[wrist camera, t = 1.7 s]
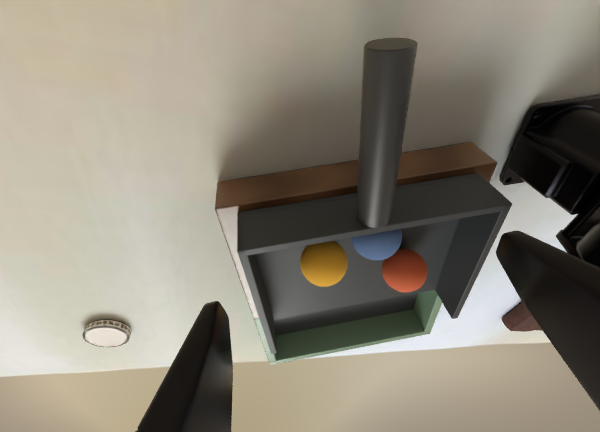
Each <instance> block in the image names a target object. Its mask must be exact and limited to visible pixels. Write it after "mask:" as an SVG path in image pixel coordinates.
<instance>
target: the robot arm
mask: <svg viewBox="0 0 600 432" xmlns="http://www.w3.org/2000/svg"><path fill="white" fill-rule="evenodd" d="M536 112H537V113H536ZM500 182H501V183H503V184H504V185H509V184H515V183H521V182H526V183H527V184H529V185H530V186H531V187H532V188H534V189H535V190H536V191H538V192H539V193H540V194H541V195H543V196H544V197H546V198H548V197H549V198H550V199H552V200H553V201H554V202H555V203H557V204H558V205H559V206H561V207H562V208H563V209H565V210H566V211H567V212H569V213H570V214H571V215H574V214H578V215H577V216H576V217H575V218H574V219H573V220H572V221H571V222H570V223H569V224H568V225H567V226H566V227H565V229H564V230H561V231H560V232H559V233H558V234H557V235H556V237H557V239H558V240H559V242H560V243H561V244H562V246H563V247H564V248H565V250H566V251H567V253H566V252H564V251H562V250H560V249H558V248H555V247H553V246H551V245H549V244H547V243H544V242H542V241H540V240H538V239H536V238H534V237H531V236H529V235H527V234H525V233H523V232H520V231H512V232H508V233H504V234H503V235H502V237H501V239H500V242H499V245H498V247H497V250H496V254H497V257H498V260H499V261H500V263H501V265H502V267H503V268H504V270H505V272H506V274H507V276H508V277H509V279H510V281H511V283H512V284H513V286H514V288H515V290H516V292H517V293H518V295H519V297H520V298H521V300H522V302H523V303H524V304H525V306H526V307H527V309H528V310H529V312H530V313H531V315H532V316H533V317H534V319H535V320H536V322H537V323H538V324H539V326H540V327H541V329H542V330H543V331H544V333H545V334H546V336H547V337H548V338H549V340H550V341H551V343H552V344H553V345H554V347H555V348H556V350H557V351H558V353H559V354H560V355H561V357H562V358H563V360H564V361H565V362H566V364H567V365H568V367H569V368H570V369H571V371H572V372H573V374H574V375H575V377H576V378H577V379H578V381H579V382H580V384H581V385H582V386H583V388H584V389H585V391H586V392H587V393H588V395H589V396H590V398H591V399H592V400H593V402H594V403H595V405H596V406H597V408H598V409H599V410H600V95H594V96H587V97H581V98H574V99H568V100H561V101H555V102H548V103H542V104H536V105H534V106H532V107H531V108H530V109H529V111H528V112H527V115H526V117H525V120H524V122H523V124H522V127H521V129H520V131H519V134H518V136H517V139H516V141H515V143H514V146H513V148H512V151H511V153H510V155H509V158H508V160H507V163H506V165H505V167H504V170H503V172H502V175H501V177H500ZM232 381H233V366H232V352H231V340H230V328H229V319H228V315H227V313H226V312H225V310H224V309H223V307H222V305H221V304H220V303H219V302H218V301H215V302H210V303H207V304H205V305H204V306H203V308H202V310H201V312H200V314H199V315H198V317H197V319H196V321H195V323H194V325H193V326H192V328H191V330H190V332H189V334H188V336H187V338H186V339H185V341H184V343H183V345H182V347H181V349H180V350H179V352H178V354H177V356H176V358H175V360H174V361H173V363H172V365H171V367H170V369H169V371H168V373H167V374H166V376H165V378H164V380H163V382H162V384H161V385H160V387H159V389H158V391H157V393H156V395H155V396H154V399H153V400H152V402H151V404H150V406H149V408H148V410H147V411H146V413H145V415H144V417H143V419H142V420H141V422H140V424H139V426H138V430H137V431H136V432H231V415H232Z"/></svg>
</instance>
